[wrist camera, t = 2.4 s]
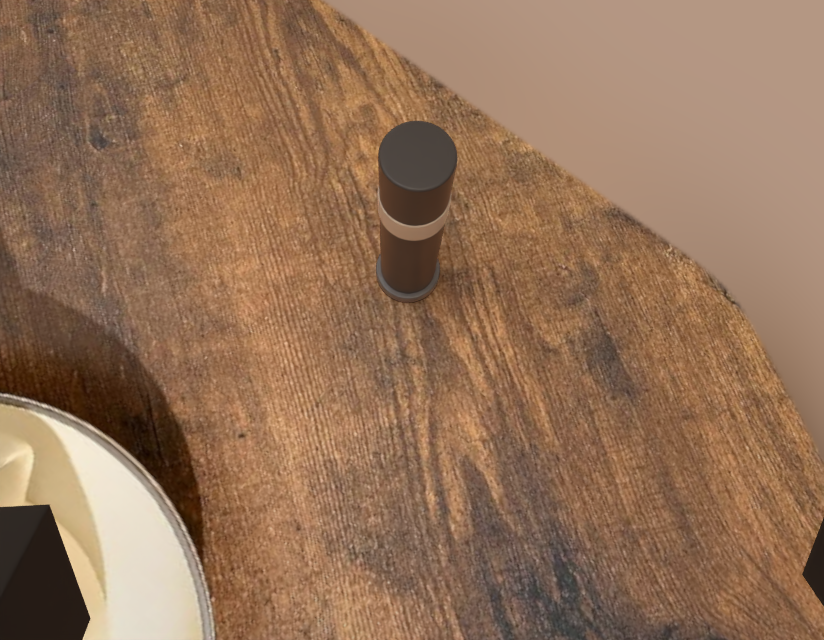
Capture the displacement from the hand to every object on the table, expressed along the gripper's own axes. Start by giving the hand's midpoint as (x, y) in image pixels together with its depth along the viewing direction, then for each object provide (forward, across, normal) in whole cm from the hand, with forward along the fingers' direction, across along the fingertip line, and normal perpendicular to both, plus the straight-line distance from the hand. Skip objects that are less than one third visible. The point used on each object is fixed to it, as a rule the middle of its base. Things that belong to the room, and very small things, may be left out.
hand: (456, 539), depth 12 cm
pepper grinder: (+18, 0, -4) cm, 18 cm away
